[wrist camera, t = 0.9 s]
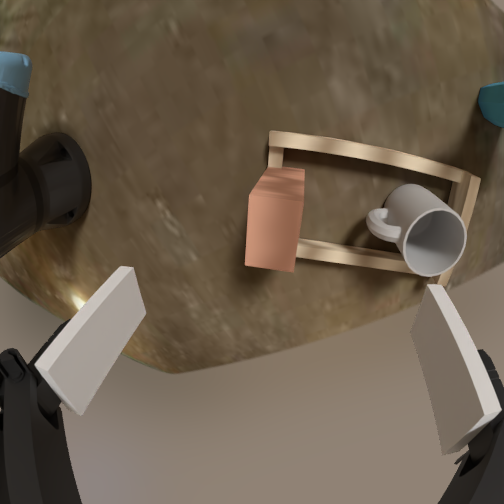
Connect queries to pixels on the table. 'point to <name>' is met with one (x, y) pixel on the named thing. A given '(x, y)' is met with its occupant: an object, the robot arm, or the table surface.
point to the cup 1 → (420, 229)
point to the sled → (292, 199)
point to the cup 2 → (492, 103)
